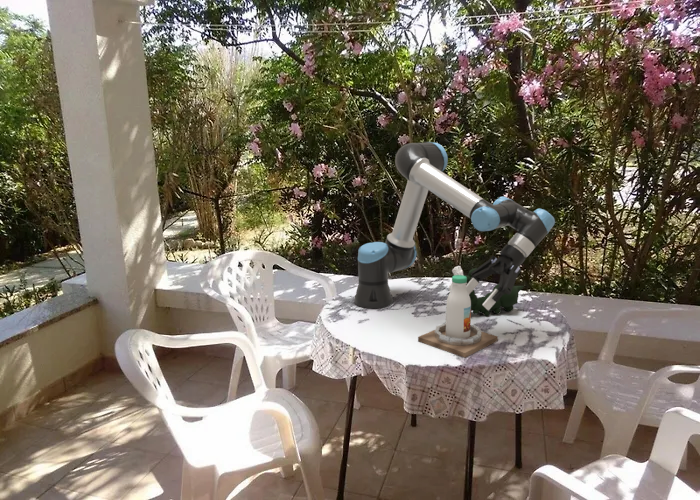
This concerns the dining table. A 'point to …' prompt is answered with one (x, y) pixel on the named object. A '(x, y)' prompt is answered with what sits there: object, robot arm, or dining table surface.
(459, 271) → the seated beast figurine
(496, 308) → the toy figurine
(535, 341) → the dining table surface
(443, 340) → the metal collar
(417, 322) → the dining table surface
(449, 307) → the milk bottle
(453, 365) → the dining table surface
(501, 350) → the dining table surface
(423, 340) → the plate
